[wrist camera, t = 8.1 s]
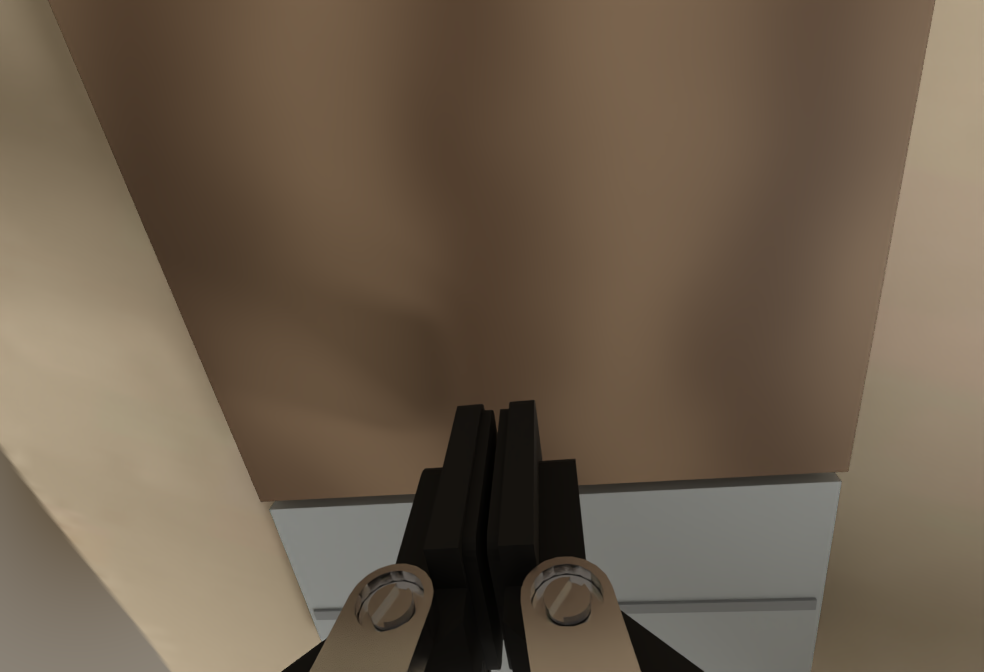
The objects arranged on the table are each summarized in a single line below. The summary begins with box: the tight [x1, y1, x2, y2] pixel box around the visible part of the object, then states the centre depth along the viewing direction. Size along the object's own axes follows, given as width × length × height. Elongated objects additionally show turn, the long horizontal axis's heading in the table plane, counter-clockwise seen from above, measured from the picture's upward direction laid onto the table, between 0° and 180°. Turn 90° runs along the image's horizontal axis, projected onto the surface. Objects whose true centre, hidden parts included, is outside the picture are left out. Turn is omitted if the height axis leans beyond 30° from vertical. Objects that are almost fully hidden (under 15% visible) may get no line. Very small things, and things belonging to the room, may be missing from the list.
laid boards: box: [269, 472, 842, 672], centre depth 18 cm, size 16×9×2 cm, turn 98°
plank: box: [48, 0, 935, 502], centre depth 13 cm, size 16×14×2 cm
